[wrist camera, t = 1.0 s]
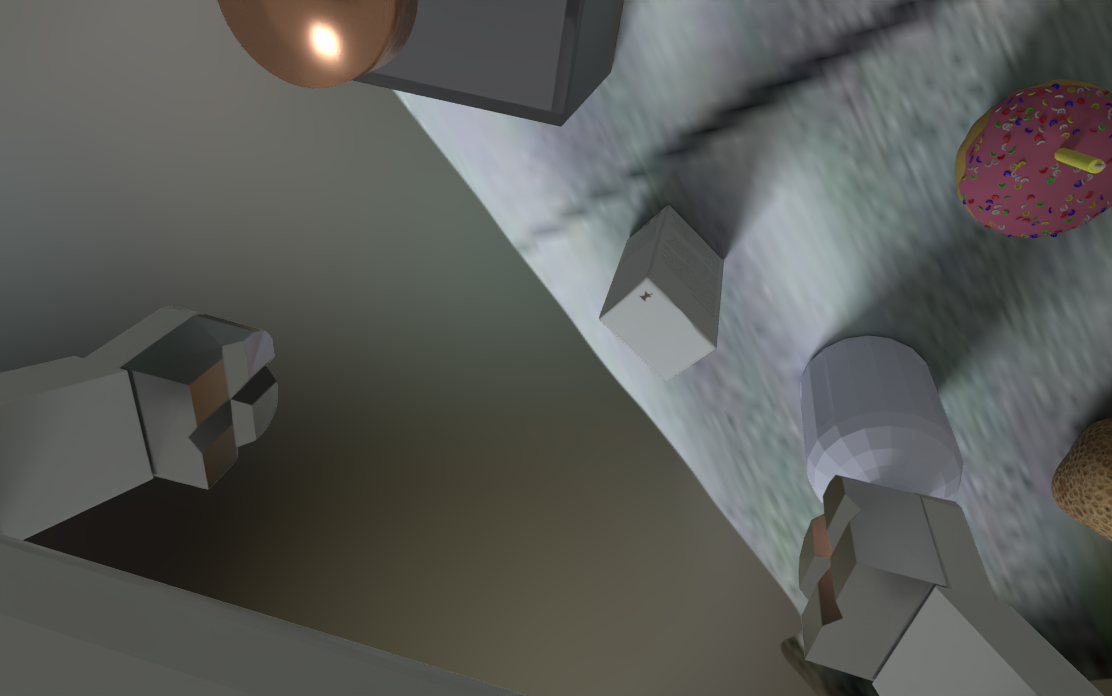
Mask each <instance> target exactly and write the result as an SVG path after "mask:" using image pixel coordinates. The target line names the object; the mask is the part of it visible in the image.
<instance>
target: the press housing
mask: <svg viewBox="0 0 1112 696" xmlns="http://www.w3.org/2000/svg"><path fill="white" fill-rule="evenodd" d="M623 1H624V0H418V6H417V14H416V19H415V23H414V26H413V29H412V32H411V34H410V36H409V38H408V40H407V42H406V44H405V45H404V47H403V48H402V50H401V51H400V52H399V53H398V54H397V55H396V56H395V58H394V59H393V60H391V61H390V62H389V63H387V64H386V65H384V66H382V67H381V68H379V69H377V70H374V71H372V72H369V73H367V74H364V75H362V76H360V77H357V78H355V79H352V80H353V81H358V82H362V83H367V84H371V85H376V86H380V87H385V88H389V89H394V90H398V91H403V92H407V93H412V94H416V95H421V96H425V97H430V98H434V99H439V100H443V101H448V102H452V103H457V104H461V105H466V106H471V107H475V108H480V109H484V110H489V111H493V112H498V113H502V114H507V115H511V116H516V117H520V118H525V119H529V120H534V121H538V122H543V123H547V124H552V125H556V126H562V125H563V124H564V123H565V122H566V121H567V120H568V119H569V117H570V116H571V115H572V114H573V113H574V112H575V111H576V110H577V109H578V108H579V107H580V105H581V104H582V103H583V102H584V101H585V100H586V99H587V98H588V97H589V96H590V95H591V93H592V92H593V91H594V90H595V89H596V88H597V87H598V86H599V85H600V84H601V83H602V81H603V80H604V79H605V78H606V77H607V76H608V75H609V74H610V72H611V67H612V61H613V56H614V50H615V45H616V39H617V34H618V29H619V23H620V18H621V12H622V7H623Z"/></svg>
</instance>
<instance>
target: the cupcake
mask: <svg viewBox="0 0 1112 696" xmlns="http://www.w3.org/2000/svg"><path fill="white" fill-rule="evenodd" d="M956 180H957V195H958V197H959V198H960V200H961V201H962V203H963V204H964V206H965V207H966V209H967V210H968V212H969V213H970V214H971V215H972V216H973V217H974V218H975V219H976V220H978V221H979V222H980V223H982V224H984V225H986V226H985V227H990V228H992V229H994V230H997V231H999V232H1001V233H1003V234H1006V235H1008V237H1010V236H1016V237H1025V238H1028V237H1032V238H1036V237H1041V236H1048V235H1050V236H1052V237H1056V236H1057V234H1058V233H1062V232H1065V231H1068V230H1071V229H1074V228H1076V227H1079V226H1082V225H1084V224H1085V223H1087V222H1089V221H1090V220H1092V219H1093V218H1095V217H1096V216H1098V215H1099V214H1101V213H1102V212H1104V211H1105V210H1107V209H1108V208H1110V207H1111V206H1112V94H1111V93H1110V92H1108V91H1107V90H1105V89H1104V88H1102V87H1099V86H1097V85H1095V84H1092V83H1089V82H1084V81H1076V80H1069V79H1054V80H1049V81H1046V82H1043V83H1041V84H1038V85H1035V86H1031V87H1028V88H1024V89H1020V90H1017V91H1015V92H1014V93H1012V94H1010V95H1009V96H1008V97H1007V98H1005V99H1004V100H1002V101H1001V102H1000V103H998V104H997V105H996V106H994V107H993V108H992V109H990V110H989V111H988V112H987V113H985V114H984V115H983V116H982V117H980V118H979V119H978V120H977V121H976V122H975V123H974V124H973V126H972V127H971V129H970V131H969V133H968V135H967V136H966V138H965V140H964V141H963V143H962V145H961V146H960V148H959V150H958V153H957V157H956ZM1054 235H1055V236H1054Z"/></svg>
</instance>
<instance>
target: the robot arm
mask: <svg viewBox="0 0 1112 696" xmlns="http://www.w3.org/2000/svg"><path fill="white" fill-rule="evenodd" d="M273 357H274V351H273V343H272V337H271V336H270V335H269V334H268V333H266V332H265V331H264V330H261V329H257V328H254V327H250V326H247V325H243V324H239V323H235V322H232V321H228V320H225V319H221V318H217V317H214V316H210V315H207V314H201V313H199V312H195V311H191V310H187V309H183V308H179V307H175V306H173V307H163V308H161V309H160V310H158V311H156V312H155V313H153V314H152V315H150V316H149V317H147V318H146V319H144V320H142V321H141V322H139V323H138V324H137V325H135V326H133V327H132V328H130V329H129V330H127V331H125V332H124V333H122V334H121V335H119V336H118V337H116V338H115V339H113V340H112V341H110V342H109V343H107V344H106V345H104V346H102V347H101V348H99V349H98V350H96V351H95V352H93V353H92V354H90V355H88V356H87V357H86V358H84V359H82V358H79V357H75V356H73V357H68V358H64V359H60V360H55V361H51V362H47V363H42V364H38V365H34V366H29V367H25V368H21V369H17V370H12V371H8V372H3V373H0V696H528V695H525V694H522V693H518V692H515V691H512V690H508V689H505V688H502V687H499V686H495V685H492V684H489V683H486V682H483V681H479V680H476V679H472V678H469V677H466V676H463V675H460V674H456V673H453V672H450V671H447V670H443V669H440V668H437V667H433V666H430V665H427V664H424V663H420V662H417V661H414V660H410V659H407V658H404V657H401V656H397V655H394V654H391V653H388V652H385V651H381V650H378V649H375V648H372V647H368V646H365V645H362V644H359V643H355V642H352V641H349V640H345V639H342V638H339V637H336V636H332V635H329V634H326V633H323V632H319V631H316V630H313V629H309V628H306V627H303V626H300V625H297V624H293V623H290V622H286V621H283V620H280V619H277V618H274V617H270V616H267V615H264V614H260V613H257V612H254V611H250V610H248V609H244V608H241V607H238V606H234V605H231V604H228V603H224V602H221V601H218V600H215V599H212V598H208V597H205V596H202V595H199V594H195V593H192V592H189V591H185V590H182V589H179V588H176V587H172V586H169V585H165V584H163V583H159V582H156V581H153V580H149V579H146V578H143V577H140V576H136V575H133V574H130V573H127V572H123V571H120V570H117V569H114V568H110V567H107V566H104V565H101V564H97V563H94V562H90V561H87V560H84V559H81V558H78V557H74V556H71V555H68V554H65V553H61V552H58V551H54V550H51V549H48V548H45V547H41V546H38V545H35V544H32V543H29V542H25V541H22V540H23V539H26V538H28V537H30V536H32V535H34V534H36V533H38V532H40V531H43V530H45V529H47V528H49V527H51V526H53V525H55V524H58V523H60V522H62V521H64V520H66V519H68V518H70V517H72V516H75V515H77V514H79V513H81V512H83V511H85V510H87V509H89V508H91V507H94V506H96V505H98V504H100V503H102V502H104V501H106V500H108V499H110V498H113V497H115V496H117V495H119V494H121V493H123V492H125V491H128V490H130V489H132V488H134V487H136V486H138V485H140V484H142V483H145V482H146V481H149V480H151V479H153V476H157V477H161V478H165V479H169V480H173V481H177V482H181V483H185V484H188V485H192V486H196V487H200V488H204V489H208V490H209V489H210V487H211V486H212V485H213V484H214V483H215V482H216V481H217V480H218V479H219V478H220V477H221V476H222V475H223V474H224V473H225V472H226V471H227V470H228V468H230V467H231V466H232V465H233V464H234V463H235V461H236V460H237V459H238V458H237V447H238V446H241V445H244V444H246V443H249V442H252V441H254V440H256V439H257V438H258V437H259V436H260V435H261V434H262V433H263V432H264V431H265V429H266V428H267V427H268V425H269V423H270V421H271V419H272V417H273V415H274V412H275V410H276V405H277V398H278V388H277V380H276V379H275V378H274V376H273V375H272V374H271V372H270V371H269V369H268V368H267V366H266V365H267V364H268V363H269V362H270V361H271V360H272V358H273ZM823 504H824V514H822V515H820V516H818V517H817V518H815V519H813V520H811V523H810V525H809V527H808V530H807V532H806V535H805V537H804V540H803V545H802V549H801V553H800V557H799V572H798V573H799V588H800V590H801V591H802V592H803V594H804V595H805V596H806V597H807V599H808V600H809V601H808V603H807V605H806V607H805V609H804V611H803V613H802V615H801V618H802V630H803V642H804V655H805V660H808V661H811V662H814V663H817V664H820V665H824V666H827V667H830V668H833V669H836V670H840V671H843V672H846V673H849V674H852V675H856V676H859V677H862V678H865V679H868V680H872V681H874V682H873V686H874V688H875V689H876V691H877V692H878V694H879V695H880V696H1103V695H1102V694H1101V693H1100V692H1099V691H1098V690H1097V689H1096V688H1095V687H1094V686H1093V685H1092V684H1091V683H1090V682H1089V681H1088V680H1087V679H1086V678H1085V677H1084V676H1083V675H1082V674H1081V673H1080V672H1078V671H1077V670H1076V669H1075V668H1074V667H1073V666H1072V665H1071V664H1070V663H1069V662H1068V661H1067V660H1066V659H1065V658H1064V657H1063V656H1062V655H1061V654H1060V653H1059V652H1058V651H1057V650H1056V649H1055V648H1053V647H1052V646H1051V645H1050V644H1049V643H1048V642H1047V641H1046V640H1045V639H1044V638H1043V637H1042V636H1041V635H1040V634H1039V633H1038V632H1037V631H1036V630H1035V629H1034V628H1033V627H1032V626H1031V625H1030V624H1029V623H1027V622H1026V621H1025V620H1024V619H1023V618H1022V617H1021V616H1020V615H1019V614H1018V613H1017V612H1016V611H1015V610H1014V609H1013V608H1012V607H1011V606H1010V605H1007V604H1004V603H1000V602H996V599H995V596H994V594H993V591H992V588H991V586H990V583H989V580H988V577H987V575H986V572H985V569H984V567H983V564H982V561H981V559H980V556H979V553H978V551H977V548H976V545H975V542H974V540H973V537H972V534H971V532H970V529H969V526H968V524H967V521H966V518H965V515H964V513H963V510H962V508H961V507H960V506H959V505H958V504H957V503H956V502H954V501H950V500H945V499H941V498H937V497H932V496H928V495H923V494H919V493H914V494H913V493H909V492H905V491H901V490H897V489H893V488H888V487H884V486H880V485H876V484H872V483H868V482H864V481H860V480H856V479H852V478H848V477H844V476H840V475H835V476H834V477H833V479H832V480H831V481H830V482H829V484H828V486H827V488H826V490H825V492H824V494H823Z"/></svg>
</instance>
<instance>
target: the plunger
mask: <svg viewBox="0 0 1112 696" xmlns="http://www.w3.org/2000/svg"><path fill="white" fill-rule="evenodd" d="M218 3H219V5H220V8H221V11H222V13H223V15H224V17H225V19H226V22H227V24H228V26H229V27H230V29H231V31H232V32H233V34H234V36H235V37H236V39H237V40H238V41H239V43H240V44H241V45H242V47H243V48H244V49H245V50H246V51H247V53H248V54H249V55H250V56H251V57H252V58H253V59H254V60H255V61H256V62H257V63H258V64H260V65H261V66H262V67H263V68H265V69H266V70H267V71H269V72H270V73H272V74H273V75H275V76H277V77H278V78H280V79H282V80H284V81H287V82H289V83H292V84H295V85H298V86H301V87H308V88H327V87H333V86H336V85H339V84H342V83H345V82H347V81H350V80H352V79H355V78H357V77H360V76H362V75H364V74H367V73H369V72H372V71H374V70H377V69H379V68H381V67H382V66H384V65H386V64H387V63H389V62H390V61H391V60H393V59H394V58H395V56H396V55H397V54H398V53H399V52H400V51H401V50H402V48H403V47H404V45H405V44H406V42H407V40H408V38H409V36H410V34H411V32H412V29H413V26H414V23H415V19H416V14H417V6H418V0H218Z"/></svg>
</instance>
